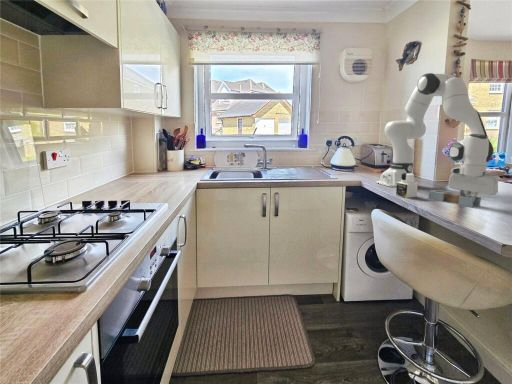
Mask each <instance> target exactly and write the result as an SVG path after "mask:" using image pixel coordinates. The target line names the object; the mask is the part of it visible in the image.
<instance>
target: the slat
mask: <svg viewBox="0 0 512 384" xmlns="http://www.w3.org/2000/svg"><path fill="white" fill-rule="evenodd" d="M435 192H440V191H435ZM441 193H445V192H441ZM459 196H463V197H466V196H465V195H461V194H456V193H452V194H451V193H445V194H444V201H443V202H447V203H452V204H456V205H458V202H459Z"/></svg>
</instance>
